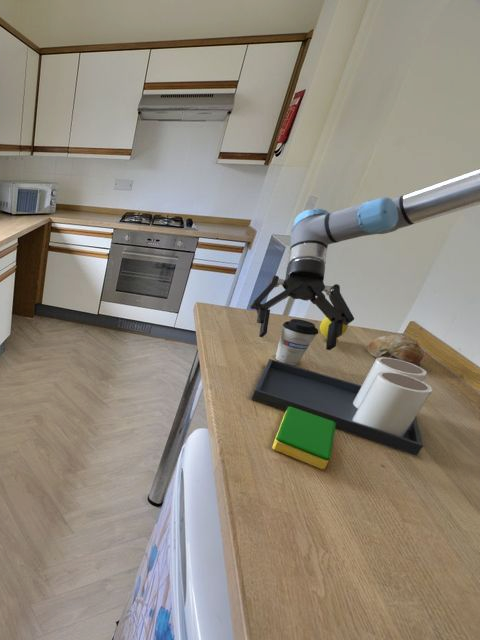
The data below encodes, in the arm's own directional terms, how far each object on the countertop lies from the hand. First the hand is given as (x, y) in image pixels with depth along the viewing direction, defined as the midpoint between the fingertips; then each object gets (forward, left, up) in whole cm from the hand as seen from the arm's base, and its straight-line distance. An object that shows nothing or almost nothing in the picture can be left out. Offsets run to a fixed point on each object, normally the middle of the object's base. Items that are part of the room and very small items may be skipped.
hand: (295, 341), depth 98 cm
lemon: (-7, -26, -6) cm, 28 cm away
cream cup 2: (-16, +22, -5) cm, 27 cm away
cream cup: (-16, +14, -5) cm, 22 cm away
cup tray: (-9, +17, -6) cm, 20 cm away
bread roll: (-20, -24, -6) cm, 32 cm away
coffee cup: (0, -1, -6) cm, 6 cm away
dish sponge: (-6, +36, -6) cm, 37 cm away
